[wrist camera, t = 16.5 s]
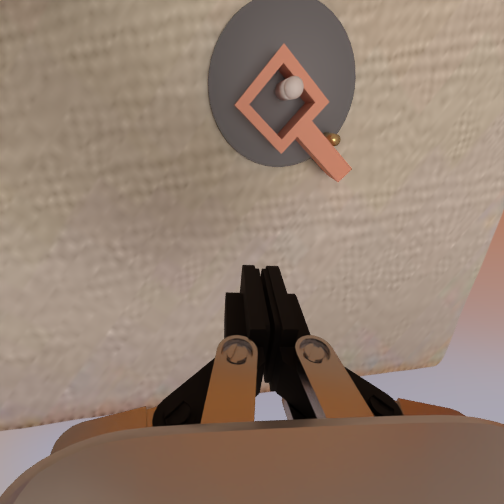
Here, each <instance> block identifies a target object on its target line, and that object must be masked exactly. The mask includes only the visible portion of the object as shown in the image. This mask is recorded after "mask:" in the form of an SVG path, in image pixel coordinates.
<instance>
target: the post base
mask: <svg viewBox="0 0 504 504" xmlns="http://www.w3.org/2000/svg"><path fill="white" fill-rule="evenodd" d="M283 44H285V45H286V46H287V48H288V49H289V50H290V51H291V53H292V54H293V55H294V57H295V58H296V59H297V60H298V62H299V63H300V64H301V66H302V67H303V68H304V70H305V71H306V72H307V73H308V75H309V76H310V77H311V79H312V80H313V81H314V82H315V84H316V85H317V86H318V88H319V89H320V90H321V91H322V93H323V94H324V95H325V97H326V98H327V99H328V101H329V103H328V104H327V105H326V106H325V107H324V108H323V110H322V111H321V112H320V113H319V114H318V115H317V116H316V117H315V118H314V119H313V120H312V122H313V123H314V124H315V125H316V126H317V128H318V129H319V130H320V131H321V132H322V134H323V133H324V132H329V133H333V134H337V133H338V131H339V130H340V128H341V127H342V125H343V123H344V121H345V119H346V117H347V114H348V112H349V109H350V106H351V103H352V99H353V94H354V89H355V61H354V54H353V51H352V47H351V43H350V41H349V38H348V36H347V33H346V31H345V29H344V28H343V26H342V24H341V22H340V21H339V20H338V18H337V17H336V16H335V15H334V13H333V12H332V11H331V10H330V9H328V8H327V7H326V6H325V5H324V4H322V3H321V2H319V1H318V0H252V1H251V2H250V3H248V4H247V5H245V6H244V7H242V8H241V9H240V10H239V11H238V12H237V13H236V14H235V15H234V16H233V17H232V19H231V20H230V21H229V22H228V23H227V25H226V26H225V28H224V30H223V31H222V33H221V35H220V37H219V39H218V41H217V43H216V45H215V48H214V51H213V55H212V58H211V63H210V68H209V79H208V86H209V98H210V105H211V108H212V112H213V116H214V118H215V121H216V123H217V125H218V127H219V129H220V131H221V133H222V134H223V136H224V137H225V139H226V140H227V141H228V143H229V144H230V145H231V146H232V147H233V148H234V149H235V150H236V151H237V152H239V153H240V154H241V155H243V156H244V157H246V158H247V159H249V160H251V161H253V162H255V163H258V164H262V165H265V166H272V167H284V166H291V165H295V164H298V163H301V162H303V161H306V160H308V159H310V158H311V157H310V155H309V154H308V153H307V152H306V151H305V150H304V149H303V148H302V147H301V145H300V144H299V143H298V142H297V141H296V140H294V141H293V142H292V143H291V144H290V145H289V146H288V147H287V148H286V150H285V151H284V152H283V153H282V154H281V153H280V152H279V151H278V150H276V149H275V148H274V147H273V145H272V144H271V143H270V142H269V141H268V140H267V139H266V138H265V137H264V136H263V135H262V134H261V133H260V132H259V131H258V130H257V129H256V128H255V127H254V126H253V125H252V124H251V122H250V121H249V120H248V119H247V118H246V117H245V116H244V115H243V114H242V113H241V112H240V111H239V110H238V109H237V108H236V107H235V106H234V105H235V103H236V102H237V101H238V100H239V98H240V97H241V96H242V95H243V93H244V92H245V91H246V90H247V88H248V87H249V86H250V85H251V83H252V82H253V81H254V80H255V78H256V77H257V76H258V75H259V73H260V72H261V71H262V70H263V68H264V67H265V66H266V65H267V63H268V62H269V61H270V59H271V58H272V57H273V56H274V54H275V53H276V52H277V51H278V50H279V48H280V47H281V46H282V45H283ZM303 89H304V84H303V81H302V79H301V78H300V77H298V76H291V77H289V78H287V79H285V78H284V77H283V75H282V74H281V73H280V72H279V70H277V71H276V73H275V74H274V75H273V76H272V77H271V79H270V80H269V81H268V82H267V84H266V85H265V86H264V87H263V88H262V90H261V91H260V92H259V93H258V95H257V96H256V97H255V98H254V99H253V101H252V102H251V103H250V104H249V105H250V106H251V107H252V108H253V109H254V110H255V111H256V112H257V113H258V114H259V115H260V117H261V118H262V119H263V120H264V121H265V122H266V123H267V124H268V125H269V126H270V127H271V128H272V130H273V131H274V132H275V133H276V134H278V133H279V132H280V130H281V129H282V128H283V127H284V126H285V125H286V124H287V123H288V122H289V120H290V119H291V118H292V117H293V116H294V115H295V114H296V113H297V111H298V110H299V109H300V108H301V107H302V106H303V105H304V104H305V102H304V101H303V100H302V98H301V97H300V95H301V94H302V92H303Z"/></svg>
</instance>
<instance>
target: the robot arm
mask: <svg viewBox="0 0 504 504" xmlns="http://www.w3.org/2000/svg"><path fill="white" fill-rule="evenodd" d="M263 374H264V381H265V383H269V385H270V391H276V392H277V394H279V395H280V396H281V397H282V403H283V407H284V410H285V413H286V416H287V419H288V420H276V421H254V413H255V397H256V396H257V395H258V394H259V393H260V387H261V382H262V377H263ZM0 504H504V424H501V423H498V422H494V421H490V420H485V419H481V418H475V417H467V416H465V415H463V414H461V413H460V412H458V411H456V410H453V409H450V408H445V407H440V406H435V405H430V404H425V403H420V402H415V401H410V400H405V399H400V398H398V399H397V401H395V400H393V398H391V397H390V396H389V395H387V394H386V393H385V392H383V391H381V390H380V389H378V388H377V387H375V386H374V385H372V384H371V383H369V382H367V381H366V380H364V379H363V378H361V377H360V376H358V375H357V374H355V373H353V372H352V371H350V370H349V369H347V368H346V367H344V366H343V364H342V363H341V361H340V359H339V358H338V356H337V354H336V353H335V351H334V350H333V348H332V347H331V345H330V344H329V343H328V342H327V341H325V340H324V339H322V338H320V337H317V336H313V335H310V332H309V330H308V327H307V324H306V321H305V319H304V316H303V313H302V310H301V308H300V305H299V302H298V299H297V297H296V295H295V294H287V291H286V288H285V285H284V282H283V279H282V276H281V272H280V269H279V267H278V266H266V269H262V271H261V277H260V272H259V269H255V266H254V265H243V266H242V275H241V286H240V293H226V297H225V319H224V339H223V340H222V341H221V342H220V343H219V345H218V347H217V351H216V356H215V358H214V359H213V360H212V361H210V362H209V363H208V364H207V365H206V366H204V367H203V368H202V369H201V370H199V371H198V372H197V373H196V374H195V375H193V376H192V377H191V378H190V379H188V380H187V381H186V382H185V383H184V384H182V385H181V386H180V387H179V388H177V389H176V390H175V391H174V392H172V393H171V394H170V395H169V396H168V397H166V398H165V399H164V400H163V401H162V402H161V403H160V404H159V405H158V406H157V407H153V408H149V409H147V408H146V406H144V407H140V408H136V409H132V410H128V411H125V412H121V413H117V414H113V415H109V416H105V417H101V418H97V419H93V420H89V421H85V422H82V423H79V424H77V425H75V426H72V427H71V428H69V429H68V430H67V431H65V432H64V433H63V434H62V435H61V436H60V437H59V439H58V440H57V441H56V443H55V445H54V447H53V449H52V451H51V454H50V456H48V457H46V458H45V459H42V460H41V461H39V462H37V463H36V464H35V465H33V466H32V467H30V468H29V469H27V470H26V471H25V472H24V473H22V474H21V475H20V476H19V477H18V478H17V479H16V480H15V481H14V482H13V483H12V484H11V485H10V486H9V487H8V488H7V489H6V490H5V492H4V493H3V494H2V495H1V497H0Z"/></svg>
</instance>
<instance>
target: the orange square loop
mask: <svg viewBox="0 0 504 504" xmlns="http://www.w3.org/2000/svg"><path fill="white" fill-rule="evenodd" d="M277 70H279V72H280V73H281V74H282V75H283V77H284V78H285V79H287V78H289V77H291V76H298V77H300V78H301V79H302V81H303V84H304V89H303V92H302V94H301V95H300V97H301V98H302V100H303V101H304V102H305V104H304V105H303V106H302V107H301V108H300V109H299V110H298V111H297V113H296V114H295V115H294V116H293V117H292V118H291V119H290V120H289V122H288V123H287V124H286V125H285V126H284V127H283V128H282V129H281V130H280V132H279V133H278V134H276V133H275V132H274V131H273V130H272V128H271V127H270V126H269V125H268V124H267V123H266V122H265V121H264V120H263V119H262V118H261V117H260V115H259V114H258V113H257V112H256V111H255V110H254V109H253V108H252V107H251V106H250V105H249V104H250V103H251V102H252V101H253V99H254V98H255V97H256V96H257V95H258V93H259V92H260V91H261V90H262V88H263V87H264V86H265V85H266V84H267V82H268V81H269V80H270V79H271V77H272V76H273V75H274V74H275V73H276V71H277ZM328 103H329V101H328V99H327V98H326V97H325V95H324V94H323V93H322V91H321V90H320V89H319V88H318V86H317V85H316V84H315V82H314V81H313V80H312V79H311V77H310V76H309V75H308V73H307V72H306V71H305V70H304V68H303V67H302V66H301V64H300V63H299V62H298V60H297V59H296V58H295V57H294V55H293V54H292V53H291V51H290V50H289V49H288V48H287V46H286V45H285V44H283V45H282V46H281V47H280V48H279V50H278V51H277V52H276V53H275V54H274V56H273V57H272V58H271V59H270V61H269V62H268V63H267V65H266V66H265V67H264V68H263V70H262V71H261V72H260V73H259V75H258V76H257V77H256V78H255V80H254V81H253V82H252V83H251V85H250V86H249V87H248V88H247V90H246V91H245V92H244V93H243V95H242V96H241V97H240V98H239V100H238V101H237V102H236V103H235V105H234V106H235V107H236V108H237V109H238V110H239V111H240V112H241V113H242V114H243V115H244V116H245V117H246V118H247V119H248V120H249V121H250V122H251V124H252V125H253V126H254V127H255V128H256V129H257V130H258V131H259V132H260V133H261V134H262V135H263V136H264V137H265V138H266V139H267V140H268V141H269V142H270V143H271V144H272V145H273V147H274V148H275V149H276V150H278V151H279V152H280V153H281V154H282V153H283V152H284V151H285V150H286V148H287V147H288V146H289V145H290V144H291V143H292V142H293V141H294V140H296V141H297V142H298V143H299V144H300V145H301V147H302V148H303V149H304V150H305V151H306V152H307V153H308V154H309V155H310V157H311V158H312V159H313V160H314V161H315V162H316V163H317V164H318V165H319V167H320V168H321V169H322V170H323V171H324V172H325V173H326V174H327V175H328V176H330V177H331V178H333V179H334V180H335V181H337V182H339V181H340V180H341V179H342V178H343V177H344V176H345V175H346V174H347V173H348V172H349V171H350V170H352V168H351V167H350V166H349V165H348V163H347V162H346V161H345V160H344V159H343V157H342V156H341V155H340V154H339V153H338V151H337V150H336V149H335V148H334V147H333V145H332V144H331V143H330V142H329V141H328V140H327V138H326V137H325V136H324V135H323V134H322V132H321V131H320V130H319V129H318V128H317V126H316V125H315V124H314V123H313V122H312V120H313V119H314V118H315V117H316V116H317V115H318V114H319V113H320V112H321V111H322V110H323V108H324V107H325V106H326V105H327V104H328Z"/></svg>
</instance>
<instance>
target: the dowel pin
mask: <svg viewBox="0 0 504 504" xmlns="http://www.w3.org/2000/svg"><path fill="white" fill-rule="evenodd" d="M323 135H324V136H325V137H326V138H327V140H328V141H329V142H330V143H331V144H332V145H333V146H337V145H338V144H339V142H340V136H339V135H337V134H333V133H329V132H324V133H323Z"/></svg>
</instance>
